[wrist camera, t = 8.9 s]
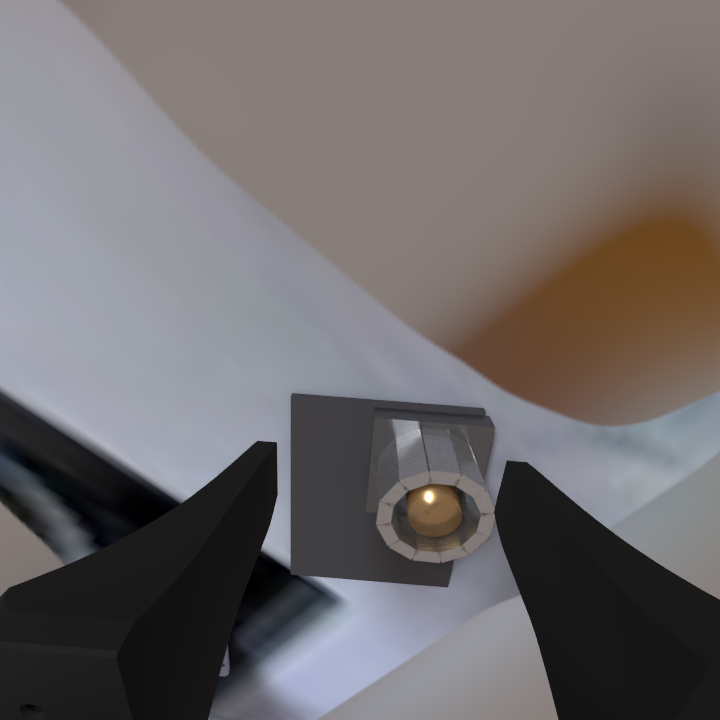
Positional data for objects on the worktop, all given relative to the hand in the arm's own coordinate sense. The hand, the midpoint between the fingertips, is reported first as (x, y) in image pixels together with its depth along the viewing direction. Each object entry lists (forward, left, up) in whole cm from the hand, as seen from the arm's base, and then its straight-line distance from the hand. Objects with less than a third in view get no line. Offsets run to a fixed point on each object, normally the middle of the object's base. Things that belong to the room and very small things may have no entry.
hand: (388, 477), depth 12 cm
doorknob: (-6, -3, -10) cm, 12 cm away
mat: (-10, -1, -10) cm, 14 cm away
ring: (-6, -3, -8) cm, 11 cm away
